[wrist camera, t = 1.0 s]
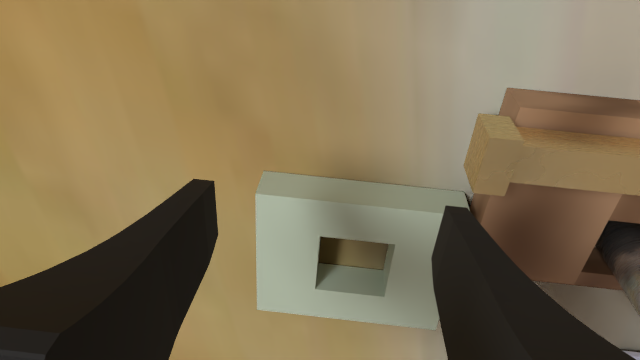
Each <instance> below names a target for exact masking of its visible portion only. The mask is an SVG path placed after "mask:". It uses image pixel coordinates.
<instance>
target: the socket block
mask: <svg viewBox="0 0 640 360" xmlns="http://www.w3.org/2000/svg"><path fill="white" fill-rule="evenodd" d="M499 115H500V116H510V118H511V120H512V121H513V123H514V125H515V126H516V127H525V128H535V129H545V130H555V131H565V132H575V133H585V134H596V135H606V136H616V137H626V138H636V139H640V100H629V99H619V98H608V97H598V96H587V95H577V94H567V93H556V92H546V91H535V90H525V89H514V88H507V90H506V93H505V96H504V99H503V103H502V106H501V109H500V112H499ZM469 209H470V212H471V213H472V214H473V215H474V217H475V218H476V219H477V220H478V222H479V223H480V224H481V225H482V226H483V228H484V229H485V230H486V231H487V232H488V234H489V235H490V236H491V237H492V238H493V240H494V241H495V242H496V243H497V244H498V245H499V247H500V248H501V249H502V250H503V251H504V252H505V253H506V254H507V256H508V257H509V258H510V259H511V260H512V261H513V262H514V263H515V264H516V265H517V266H518V267H519V268H520V269H521V270H522V271H523V272H524V273H525V274H526V275H527V276H528V277H529V278H530V279H531V280H533V281H542V282H551V283H560V284H569V285H578V286H587V287H596V288H606V289H615V290H623V289H622V287H621V286H620V284H619V283H618V281H617V279H616V278H615V276H614V275H613V273H612V271H611V270H610V268H609V267H608V265H607V263H606V262H605V260H604V259H603V257H602V255H601V254H600V252H599V251H598V249H597V248H594V246H595V245H596V243H597V241H598V239H599V237H600V235H601V233H602V232H603V230H604V228H605V226H606V224H607V222H608V220H611V221H620V222H630V223H639V224H640V196H638V195H628V194H618V193H609V192H599V191H589V190H580V189H570V188H560V187H550V186H541V185H531V184H521V183H512V182H510V183H509V185H508V188H507V191H506V194H505V196H497V195H487V194H478V193H474V195H473V199H472V202H471V205H470V208H469Z"/></svg>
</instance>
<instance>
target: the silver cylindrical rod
mask: <svg viewBox="0 0 640 360" xmlns="http://www.w3.org/2000/svg"><path fill="white" fill-rule="evenodd" d="M595 246H596V247H597V249H598V251H599V252H600V254H601V255H602V257H603V259H604V260H605V262H606V263H607V265H608V267H609V268H610V270H611V271H612V273H613V275H614V276H615V278H616V279H617V281H618V283H619V284H620V286H621V287H622V289H623V291H624V292H625V294H626V295H627V297H628V299H629V300H630V302H631V303H632V305H633V307H634V308H635V310H636V311H637V313H638V315H639V316H640V224H639V223H630V222H620V221H611V220H608V222H607V224H606V226H605V228H604V230H603V232H602V233H601V235H600V237H599V239H598V241H597V243H596V245H595Z"/></svg>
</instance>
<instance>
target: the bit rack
mask: <svg viewBox="0 0 640 360" xmlns="http://www.w3.org/2000/svg"><path fill="white" fill-rule="evenodd" d="M446 205H447V206H456V207H466V208H468V209H469V206H468V203H467V200H466V196H465V193H464V192H461V191H451V190H442V189H432V188H423V187H413V186H403V185H394V184H384V183H375V182H365V181H355V180H346V179H336V178H327V177H317V176H307V175H298V174H288V173H279V172H269V171H263V174H262V177H261V180H260V183H259V185H258V188H257V191H256V266H257V310H265V311H274V312H282V313H291V314H300V315H308V316H317V317H326V318H334V319H343V320H352V321H360V322H369V323H378V324H386V325H395V326H404V327H412V328H421V329H430V330H436V327H437V324H438V321H439V313H438V309H437V304H436V299H435V294H434V289H433V277H432V261H431V257H432V253H433V250H434V246H435V242H436V239H437V235H438V231H439V228H440V224H441V221H442V217H443V213H444V210H445V206H446ZM469 211H470V209H469ZM321 237H330V238H340V239H349V240H358V241H367V242H376V243H386V244H388V249H387V254H386V259H385V264H384V269H383V270H377V269H368V268H359V267H350V266H341V265H332V264H323V263H319V252H320V240H321Z"/></svg>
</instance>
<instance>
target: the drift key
mask: <svg viewBox="0 0 640 360" xmlns="http://www.w3.org/2000/svg"><path fill="white" fill-rule="evenodd" d="M464 168H465V171H466V174H467V177H468V180H469V183H470V186H471V189H472V192H473V193H478V194H487V195H497V196H505V194H506V191H507V188H508V185H509V183H510V182H512V183H521V184H531V185H541V186H550V187H560V188H570V189H580V190H589V191H599V192H609V193H618V194H628V195H638V196H640V139H636V138H626V137H616V136H606V135H596V134H585V133H575V132H565V131H555V130H545V129H535V128H525V127H516V126H515V125H514V123H513V121H512V120H511V118H510V116H500V115H490V114H478V117H477V121H476V124H475V128H474V131H473V135H472V138H471V142H470V145H469V149H468V152H467V156H466V159H465V163H464Z"/></svg>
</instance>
